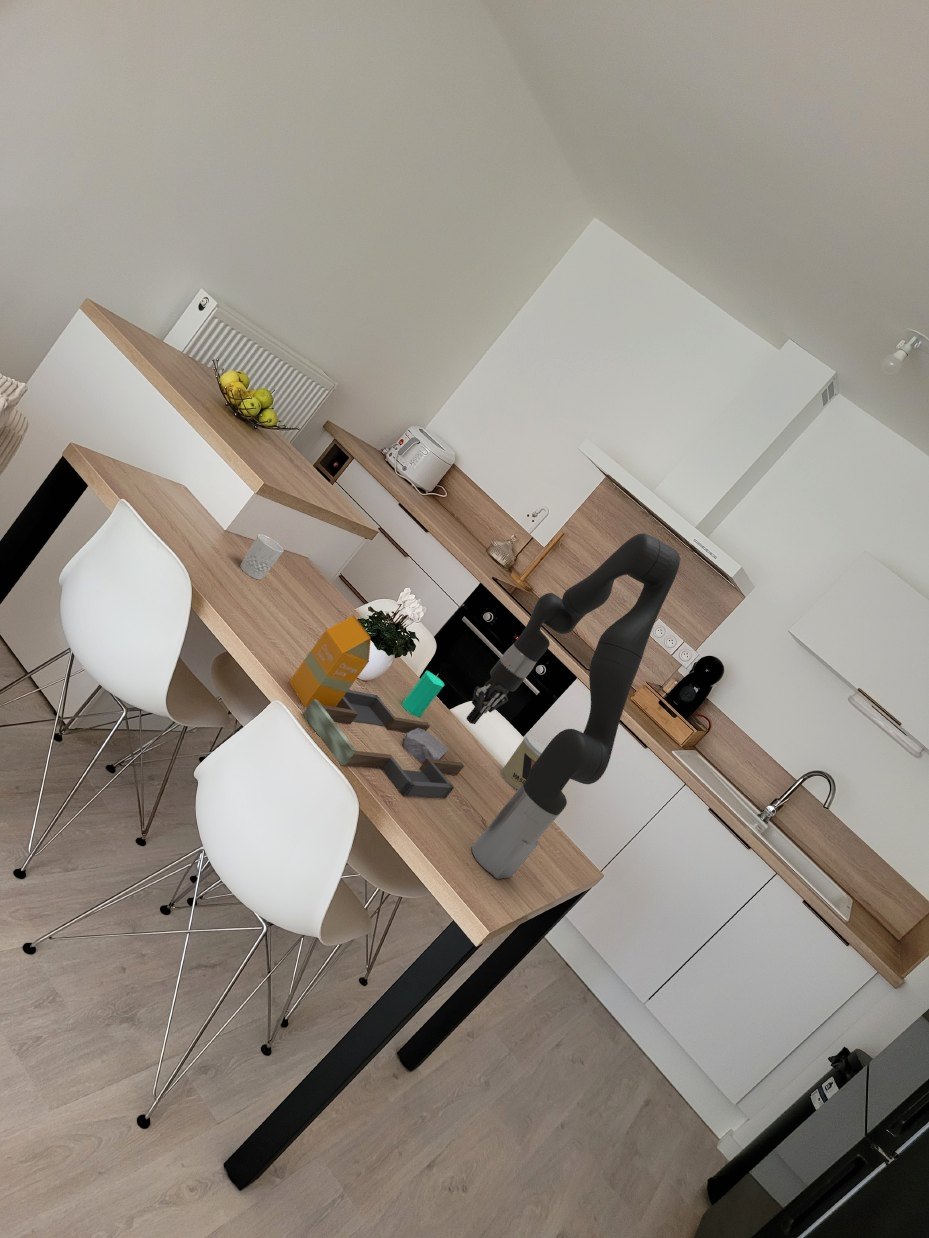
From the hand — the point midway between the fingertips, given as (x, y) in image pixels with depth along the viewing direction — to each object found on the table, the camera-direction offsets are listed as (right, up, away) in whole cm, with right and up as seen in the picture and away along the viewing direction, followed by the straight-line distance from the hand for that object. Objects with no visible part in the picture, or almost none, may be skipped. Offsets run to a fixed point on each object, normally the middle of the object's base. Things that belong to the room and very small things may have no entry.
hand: (470, 721), depth 199 cm
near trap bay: (-12, -10, -24) cm, 29 cm away
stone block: (-12, -6, -7) cm, 15 cm away
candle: (-15, +1, +13) cm, 20 cm away
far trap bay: (-26, +4, -11) cm, 28 cm away
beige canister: (+11, -18, +16) cm, 26 cm away
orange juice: (-35, +8, -21) cm, 41 cm away
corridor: (-19, -3, -17) cm, 26 cm away
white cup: (-59, +37, +23) cm, 74 cm away
